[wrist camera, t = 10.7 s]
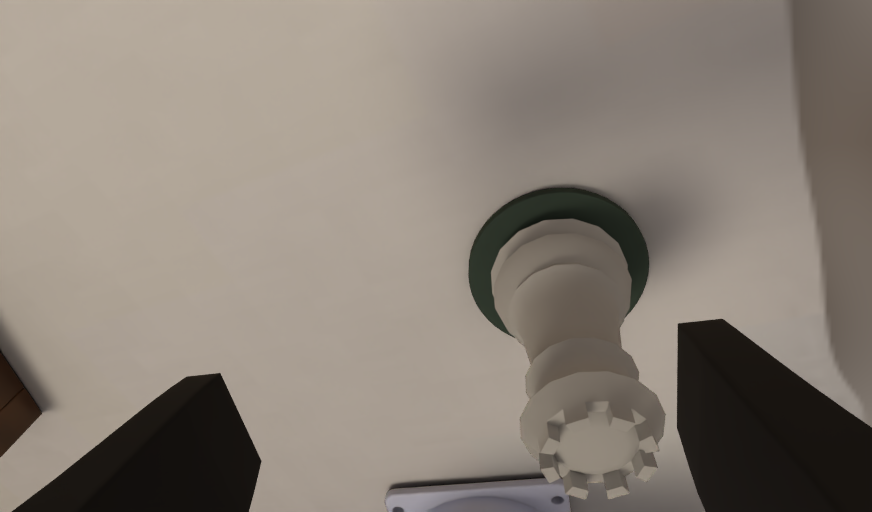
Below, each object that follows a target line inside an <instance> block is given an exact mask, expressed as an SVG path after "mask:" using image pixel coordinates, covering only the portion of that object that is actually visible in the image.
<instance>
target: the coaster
mask: <svg viewBox="0 0 872 512" xmlns="http://www.w3.org/2000/svg"><path fill="white" fill-rule="evenodd" d="M557 219H576V220H579V221H582V222H585V223H589V224H592V225H595V226H598V227H600V228H601V229H602V230H603V231H605V232H606V233H607V234H608V235H609V236H611V237H612V238H613V239H614V240H615V241H616V242H618V244H619V246H620V248H621V250H622V253H623V255H624V257H625V260H626V262H627V264H628V269H627V270H628V272H629V274H630V276H631V279H632V282H631V296H630V308H629V310H628V312H627V314H626V316H627V315H628V314H629V313H630V312H631V310H632V309H633V308H634V306H635V305H636V304H637V302H638V300H639V299H640V297H641V295H642V293H643V290H644V288H645V285H646V282H647V277H648V272H649V257H648V250H647V246H646V243H645V240H644V238H643V236H642V234H641V232H640V230H639V228H638V226H637V225H636V223H635V222H634V220H633V219H632V218H631V217H630V216H629V215H628V213H627V212H626V211H625V210H623V209H622V208H621V207H620V206H619V205H617V204H616V203H614V202H612V201H611V200H609V199H608V198H605V197H603V196H601V195H599V194H596V193H593V192H589V191H586V190H580V189H574V188H553V189H545V190H540V191H535V192H532V193H529V194H526V195H523V196H521V197H519V198H517V199H515V200H513V201H511V202H510V203H508V204H507V205H505V206H503V207H502V208H501V209H500V210H498V211H497V212H496V213H495V214H494V215H493V216H492V217H491V218H490V219H489V220H488V221H487V222H486V223H485V225H484V226H483V227H482V229H481V230H480V232H479V233H478V235H477V237H476V239H475V241H474V244H473V247H472V250H471V254H470V259H469V284H470V288H471V292H472V295H473V297H474V300H475V302H476V304H477V306H478V307H479V309H480V310H481V312H482V313H483V314H484V315H485V317H486V318H487V319H488V320H489V321H490V322H491V323H492V324H493V325H495V326H496V327H497V328H499V329H500V330H501V331H503V332H505V333H506V334H508V335H510V336H512V337H514V336H513V335H511V334H510V333H509V332H508V330H507V328H506V327H505V325H504V323H503V321H502V320H501V318H500V316H499V314H498V313H497V311H496V309H495V302H494V296H493V294H492V280H491V270H492V268H493V265H494V263H495V261H496V258H497V256H498V253H499V251H500V249H501V248H502V247H503V246H504V245H505V244H506V243H507V242H508V241H509V240H510V239H511V238H512V237H513V236H514V235H515V234H516V233H517V232H518V231H521V230H523V229H525V228H528V227H530V226H532V225H534V224H537V223H539V222H541V221H544V220H557ZM626 316H625V317H626ZM625 317H624V318H625ZM514 338H515V337H514Z"/></svg>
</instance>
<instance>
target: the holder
mask: <svg viewBox="0 0 872 512" xmlns="http://www.w3.org/2000/svg"><path fill="white" fill-rule="evenodd" d="M23 387H24V386H23V385H22V383H21V382H20V380H19V379H18V377H17V376H16V374H15V373H14V371H13V370H12V368H11V367H10V365H9V364H8V363H7V361H6V360H5V358H4V357H3V355H2V354H1V352H0V457H1V456H2V455H3V454H4V453H5V452H6V451H7V450H8V449H9V448H10V447H11V446H12V445H13V444H14V443H15V442H16V441H17V439H18V438H19V437H20V436H21V435H22V434H23V433H24V432H25V431H26V430H27V429H28V428H29V427H30V426H31V425H32V424H33V423H34V421H35V420H36V419H37V418H38V417H39V416H40V415H41V414H42V412H41V411H40V409H39V408H38V406H37V405H36V403H35V402H34V400H33V399H32V398H31V396H30V395H29V393H28V392H27V390H26V389H25V388H23Z"/></svg>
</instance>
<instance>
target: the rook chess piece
mask: <svg viewBox="0 0 872 512" xmlns="http://www.w3.org/2000/svg"><path fill="white" fill-rule="evenodd" d="M627 269H628V264H627V262H626V260H625V257H624V255H623V253H622V250H621V248H620V246H619V244H618V242H616V241H615V240H614V239H613V238H612V237H611V236H609V235H608V234H607V233H606V232H605V231H603V230H602V229H601V228H600V227H598V226H595V225H592V224H589V223H585V222H582V221H579V220H576V219H557V220H544V221H541V222H539V223H537V224H534V225H532V226H530V227H528V228H525V229H523V230H521V231H518V232H517V233H516V234H515V235H514V236H513V237H512V238H511V239H510V240H509V241H508V242H507V243H506V244H505V245H504V246H503V247H502V248H501V249H500V251H499V253H498V256H497V258H496V261H495V263H494V265H493V268H492V270H491V280H492V294H493V296H494V302H495V309H496V311H497V313H498V314H499V316H500V318H501V320H502V321H503V323H504V325H505V327H506V328H507V330H508V332H509V333H510V334H511V335H513V336H514V337H515V338H517V340H518V341H519V342H520V343H521V344H522V345H524V346H525V349H526V352H527V355H528V358H529V361H530V364H531V366H530V368H529V370H528V372H527V374H526V376H525V377H526V393H527V395H528V397H529V398H530V399H529V401H528V403H527V405H526V407H525V409H524V411H523V413H522V415H521V417H520V433H521V440H522V441H523V443H524V444H525V446H526V448H527V449H528V451H529V452H530V454H531V455H532V457H534V458H535V459H537V460H538V461H540V469H541V471H542V473H543V474H544V476H545V477H546V479H547V481H548V482H549V483H551V482H553V481H556V480H558V479H560V476H562V477H563V482H564V489H565V494H567V495H571V496H575V497H578V498H582V499H586V497H587V494H588V491H589V490H588V485H587V483H605V488H606V492H607V496H608V499H612V498H615V497H619V496H623V495H626V494H630V493H629V489H628V485H627V481H626V478H625V476H627V475H628V474H630V473H632V472H633V471H634V472H635V475H636V478H638V479H641V480H643V481H645V482H648V481H649V479H650V478H651V476H652V475H653V474H654V472H655V471H656V470H657V468H658V467H657V464H656V461H655V458H654V455H653V452H658V451H659V448H658V445H657V444H658V442H659V441H660V439H661V438H662V437H663V432H664V424H665V412H664V410H663V408H662V406H661V404H660V402H659V399H658V397H657V395H656V394H655V393H653V392H652V391H651V390H649V389H648V388H647V387H646V386H644V385H643V384H642V383H640V382H639V381H638V379H639V371H638V369H637V367H636V365H635V363H634V360H633V358H632V356H631V355H629V354H628V353H627V352H625V351H624V350H623V349H622V346H621V337H620V327H621V325H622V323H623V322H624V317H625V316H626V314H627V312H628V310H629V308H630V296H631V282H632V279H631V276H630V274H629V272H628V270H627Z"/></svg>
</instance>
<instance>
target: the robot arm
mask: <svg viewBox="0 0 872 512" xmlns="http://www.w3.org/2000/svg"><path fill="white" fill-rule="evenodd" d="M677 429H678V432H679V435H680V439H681V442H682V445H683V448H684V452H685V455H686V458H687V462H688V465H689V468H690V471H691V474H692V477H693V480H694V483H695V486H696V489H697V492H698V495H699V497H700V499H701V502H702V504H703V506H704V509H705V511H706V512H872V428H871V427H870V426H869V425H867V424H866V423H864V422H863V421H861V420H860V419H858V418H857V417H855V416H854V415H853V414H851V413H850V412H848V411H847V410H845V409H844V408H843V407H841V406H840V405H838V404H837V403H835V402H834V401H833V400H831V399H830V398H828V397H827V396H826V395H824V394H823V393H821V392H820V391H819V390H817V389H816V388H814V387H813V386H812V385H810V384H809V383H808V382H806V381H805V380H803V379H802V378H801V377H799V376H798V375H797V374H795V373H794V372H793V371H791V370H790V369H789V368H787V367H786V366H785V365H783V364H782V363H781V362H779V361H778V360H777V359H775V358H774V357H773V356H771V355H770V354H769V353H767V352H766V351H765V350H763V349H762V348H761V347H759V346H758V345H757V344H755V343H754V342H753V341H751V340H750V339H749V338H747V337H746V336H745V335H743V334H742V333H741V332H740V331H738V330H737V329H736V328H734V327H733V326H732V325H730V324H729V323H727V322H726V321H725V320H723V319H716V320H707V321H698V322H688V323H679V324H678V370H677ZM260 465H261V459H260V457H259V455H258V453H257V451H256V449H255V446H254V444H253V442H252V440H251V438H250V436H249V434H248V431H247V429H246V427H245V425H244V423H243V421H242V419H241V416H240V414H239V412H238V410H237V408H236V406H235V404H234V402H233V399H232V397H231V395H230V393H229V391H228V389H227V387H226V384H225V382H224V380H223V378H222V376H221V374H220V373H217V374H208V375H198V376H189V377H186V378H184V379H183V380H181V381H180V382H178V383H177V384H175V385H174V386H172V387H171V388H170V389H168V390H167V391H165V392H164V393H163V394H161V395H160V396H159V397H158V398H156V399H155V400H154V401H152V402H151V403H150V404H148V405H147V406H146V407H145V408H143V409H142V410H141V411H140V412H138V413H137V414H136V415H134V416H133V417H132V418H131V419H129V420H128V421H127V422H126V423H124V424H123V425H122V426H121V427H119V428H118V429H117V430H116V431H114V432H113V433H112V434H111V435H109V436H108V437H107V438H106V439H104V440H103V441H102V442H101V443H99V444H98V445H97V446H96V447H94V448H93V449H92V450H91V451H89V452H88V453H87V454H86V455H84V456H83V457H82V458H81V459H79V460H78V461H77V462H76V463H74V464H73V465H72V466H71V467H69V468H68V469H67V470H66V471H64V472H63V473H62V474H61V475H59V476H58V477H57V478H56V479H54V480H53V481H52V482H50V483H49V484H48V485H46V486H45V487H44V488H42V489H41V490H40V491H38V492H37V493H36V494H34V495H33V496H32V497H31V498H29V499H28V500H27V501H25V502H24V503H23V504H21V505H20V506H19V507H17V508H16V509H15V510H13V511H12V512H249V509H250V505H251V501H252V498H253V494H254V490H255V486H256V482H257V477H258V473H259V469H260ZM556 496H558V497H556ZM385 505H386V507H387V510H388V512H571V509H570V501H569V495H567V494H565V489H564V482H563V479H561V478H560V479H558V480H556V481H553V482H551V483H549V482H548V481H547V479H546V478H539V479H525V480H511V481H496V482H482V483H468V484H454V485H440V486H426V487H412V488H397V489H391V490H389V491H388V492H387V493H386V496H385Z"/></svg>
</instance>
